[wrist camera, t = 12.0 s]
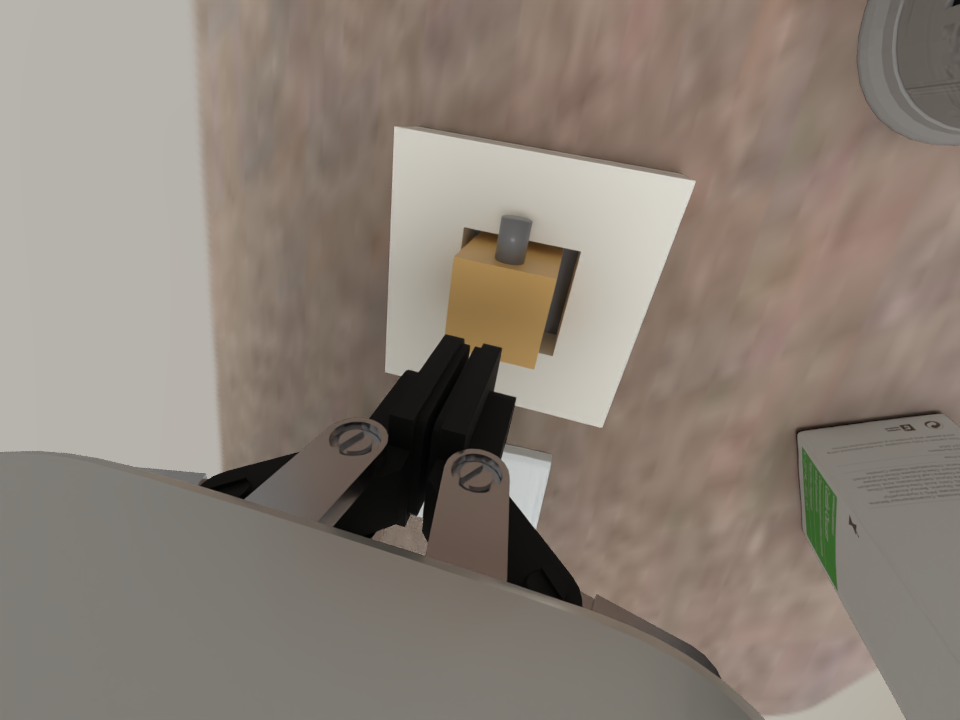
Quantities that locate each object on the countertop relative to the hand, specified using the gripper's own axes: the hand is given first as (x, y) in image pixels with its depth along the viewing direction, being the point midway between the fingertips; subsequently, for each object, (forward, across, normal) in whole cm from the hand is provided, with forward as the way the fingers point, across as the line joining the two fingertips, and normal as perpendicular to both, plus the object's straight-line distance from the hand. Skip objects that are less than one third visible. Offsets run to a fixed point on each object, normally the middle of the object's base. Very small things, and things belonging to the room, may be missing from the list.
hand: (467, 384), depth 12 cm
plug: (+11, 0, 0) cm, 11 cm away
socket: (+11, 0, 0) cm, 11 cm away
